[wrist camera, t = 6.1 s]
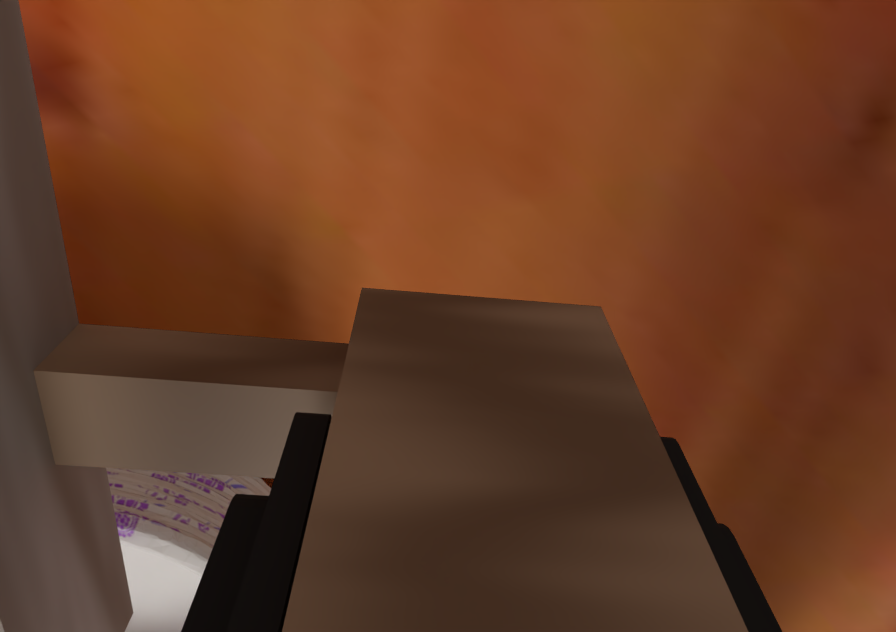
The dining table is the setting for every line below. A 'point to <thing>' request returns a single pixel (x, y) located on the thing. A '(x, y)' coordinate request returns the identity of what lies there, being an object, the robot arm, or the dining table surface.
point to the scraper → (339, 447)
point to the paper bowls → (169, 537)
